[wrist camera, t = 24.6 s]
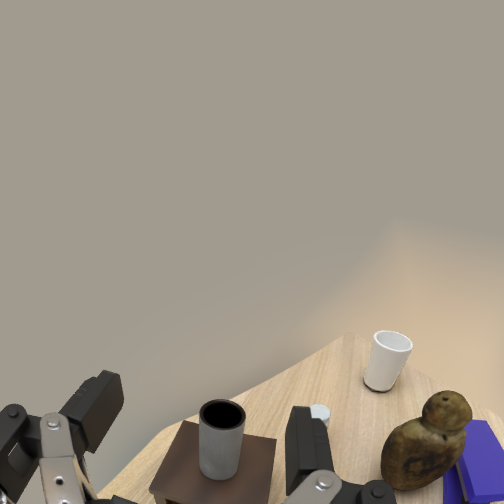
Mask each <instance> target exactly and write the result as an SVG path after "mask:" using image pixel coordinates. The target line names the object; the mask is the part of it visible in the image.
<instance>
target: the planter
mask: <svg viewBox="0 0 504 504" xmlns="http://www.w3.org/2000/svg"><path fill="white" fill-rule="evenodd" d="M245 420H246V414H245V411H244V409H243V408H242V407H241V406H240V405H238V404H237V403H235V402H233V401H229V400H224V399H217V400H212V401H209V402H207V403H205V404H204V405H203V406H202V407H201V409H200V411H199V466H200V470H201V472H202V473H203V474H204V475H205V476H206V477H208V478H210V479H213V480H226V479H229V478H231V477H232V476H234V474H235V473H236V471H237V468H238V462H239V456H240V450H241V444H242V438H243V432H244V426H245Z"/></svg>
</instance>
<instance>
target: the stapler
mask: <svg viewBox="0 0 504 504" xmlns="http://www.w3.org/2000/svg"><path fill="white" fill-rule="evenodd" d="M464 429H465V430H466V432H467V435H466V439H465V448H464V451H463V453H462V454H461V456H460V458H459V459H458V461H457V462H456V463H455V464H454V465H453V467H452V468H451V469H450V470H449V471H447V472H446V473H445V474H444V475H443V504H490V502H495V501H504V450H503V449H502V447H501V445H500V443H499V442H498V440H497V438H496V436H495V435H494V433H493V431H492V430H491V428H490V426H489V425H488V423H487V421H483V420H471V421H470V422H469V423H468V424H467V425H466V426H465V427H464Z"/></svg>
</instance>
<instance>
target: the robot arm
mask: <svg viewBox="0 0 504 504" xmlns="http://www.w3.org/2000/svg"><path fill="white" fill-rule="evenodd" d="M123 403H124V396H123V391H122V384H121V379H120V375H119V374H117V373H113V372H110V371H107V370H103V371H102V372H101V373H100V374H99V376H98V377H97V378H96V377H91V378H90V379H88V380H86V381H84V383H83V384H82V385H81V386H80V388H79V389H78V390H77V391H76V392H75V394H73V396H72V397H71V398H70V399H69V401H68V402H67V403H66V404H65V405H64V406H63V408H62V409H61V410H60V411H59V412H58V413H49V414H46V415H44V416H43V417H37V416H32V415H28V414H27V412H26V410H25V409H24V407H23V406H21V405H18V404H10V405H8V406H6V407H5V408H4V409H3V410H2V411H1V412H0V504H16V503H17V501H18V500H19V498H20V496H21V494H22V492H23V491H24V489H25V487H26V486H27V484H28V482H29V480H30V479H31V477H32V475H33V474H34V472H35V471H36V469H37V467H38V465H39V466H40V473H41V479H42V485H43V491H44V496H45V501H46V504H138V503H135V502H132V501H129V500H127V499H124V498H121V497H118V496H116V495H113V497H112V499H111V500H110V499H98V498H97V496H96V494H95V492H94V490H93V487H92V484H91V481H90V477H89V474H88V470H87V466H86V463H85V459H84V456H83V455H84V453H85V451H88V452H91V453H93V454H94V453H95V451H96V450H97V448H98V446H99V445H100V443H101V441H102V440H103V438H104V437H105V435H106V433H107V431H108V430H109V428H110V426H111V425H112V423H113V421H114V420H115V418H116V417H117V415H118V413H119V412H120V410H121V409H122V406H123ZM16 443H17V445H16ZM15 445H16V446H15ZM14 446H15V448H14V449H13V447H14ZM12 449H13V451H12V452H11V450H12ZM10 452H11V453H10ZM9 453H10V455H9ZM8 455H9V456H8ZM285 462H286V496H289V497H288V498H287V499H285V500H284V501H283V502H282V503H281V504H397V503H396V498H395V494H394V490H393V488H392V486H391V485H390V484H389V483H387V482H385V481H382V480H372V481H369V482H367V483H366V484H365V485H359V484H353V483H349V482H346V481H343V480H342V479H340V477H339V476H338V475H337V474H336V473H335V471H334V467H333V461H332V456H331V450H330V444H329V439H328V433H327V428H326V425H325V424H324V423H323V421H322V420H321V419H320V418H312V415H311V409H310V407H303V406H293V407H292V410H291V414H290V417H289V421H288V424H287V427H286V433H285Z"/></svg>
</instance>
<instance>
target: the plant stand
mask: <svg viewBox="0 0 504 504" xmlns="http://www.w3.org/2000/svg"><path fill="white" fill-rule="evenodd" d="M276 441H277V439H272V438H265V437H259V436H253V435H247V434H243V438H242V444H241V450H240V456H239V462H238V468H237V471H236V473H235V474H234V476H232V477H231V478H229V479H226V480H213V479H210V478H208V477H206V476H205V475H204V474H203V473H202V472H201V470H200V466H199V424H196V423H193V422H189V421H185V420H183V422H182V424H181V426H180V428H179V430H178V432H177V434H176V436H175V438H174V440H173V442H172V444H171V446H170V448H169V450H168V452H167V454H166V456H165V458H164V460H163V462H162V464H161V466H160V467H159V469H158V471H157V473H156V475H155V477H154V479H153V481H152V483H151V485H150V487H149V492H150V493H151V494H153V495H154V498H155V501H156V503H157V504H268V498H269V491H270V485H271V478H272V471H273V464H274V457H275V449H276Z"/></svg>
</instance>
